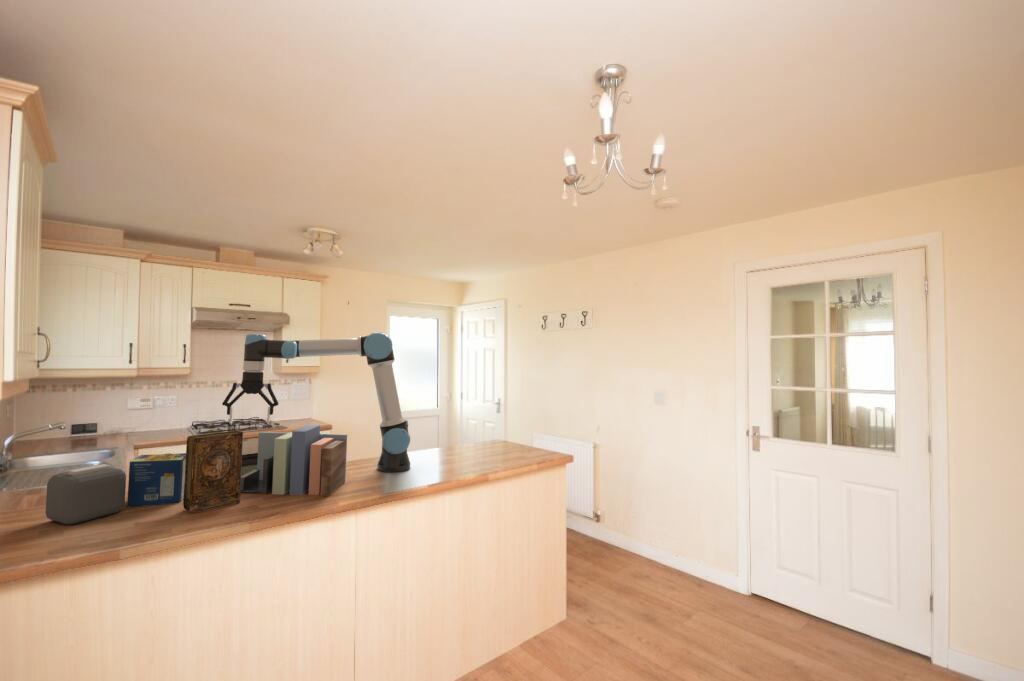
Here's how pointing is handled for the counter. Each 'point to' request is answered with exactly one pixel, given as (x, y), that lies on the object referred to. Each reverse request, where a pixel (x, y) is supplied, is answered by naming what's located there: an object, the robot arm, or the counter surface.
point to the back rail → (268, 447)
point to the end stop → (332, 467)
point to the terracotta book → (317, 465)
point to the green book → (282, 464)
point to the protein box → (156, 479)
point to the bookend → (252, 481)
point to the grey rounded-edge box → (85, 494)
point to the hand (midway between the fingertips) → (249, 422)
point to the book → (212, 471)
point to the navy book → (302, 457)
